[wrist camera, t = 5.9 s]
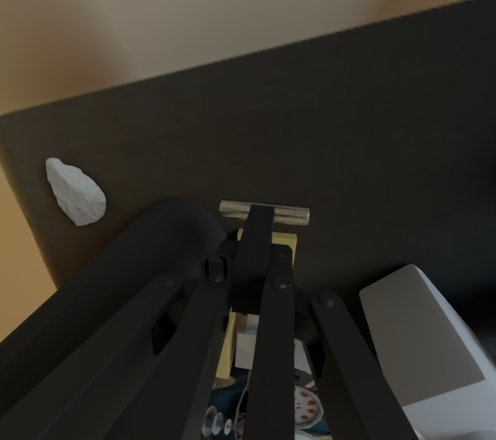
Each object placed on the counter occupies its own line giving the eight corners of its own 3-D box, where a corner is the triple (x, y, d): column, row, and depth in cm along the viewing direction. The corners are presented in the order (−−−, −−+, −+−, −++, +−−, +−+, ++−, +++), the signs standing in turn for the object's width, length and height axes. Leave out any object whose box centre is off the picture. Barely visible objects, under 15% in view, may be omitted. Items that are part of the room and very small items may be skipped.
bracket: (239, 228, 30) (206, 321, 18) (296, 233, 29) (299, 334, 18) (237, 280, 33) (209, 387, 22) (289, 286, 32) (287, 400, 21)
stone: (81, 226, 32) (70, 234, 30) (36, 167, 29) (21, 171, 28) (120, 208, 31) (112, 215, 29) (77, 145, 28) (65, 148, 27)
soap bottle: (472, 330, 31) (822, 825, 11) (415, 353, 34) (606, 783, 13) (412, 258, 28) (734, 751, 8) (355, 290, 31) (479, 717, 10)
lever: (225, 196, 21) (217, 200, 18) (308, 203, 20) (311, 209, 18) (216, 343, 23) (209, 363, 21) (290, 353, 22) (291, 375, 20)
